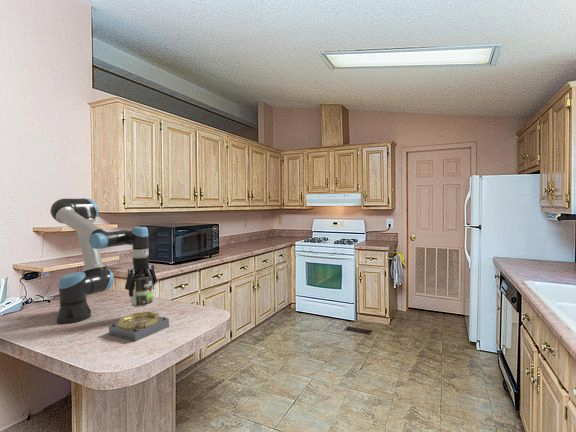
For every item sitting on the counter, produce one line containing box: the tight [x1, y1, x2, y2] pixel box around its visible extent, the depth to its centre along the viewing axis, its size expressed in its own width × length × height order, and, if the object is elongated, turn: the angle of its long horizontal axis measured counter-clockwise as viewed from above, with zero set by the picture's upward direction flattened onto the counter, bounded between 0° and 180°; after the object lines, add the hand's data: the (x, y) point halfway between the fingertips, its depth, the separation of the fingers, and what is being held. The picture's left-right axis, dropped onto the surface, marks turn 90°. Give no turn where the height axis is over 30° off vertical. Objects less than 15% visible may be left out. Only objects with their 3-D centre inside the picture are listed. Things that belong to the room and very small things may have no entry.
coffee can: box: [131, 275, 154, 308], centre depth 168 cm, size 10×10×14 cm
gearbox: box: [108, 311, 170, 342], centre depth 150 cm, size 18×18×6 cm
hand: (142, 299), depth 168 cm, fingers closed on coffee can, 10 cm apart
